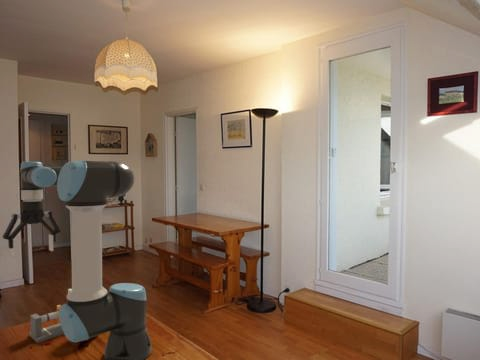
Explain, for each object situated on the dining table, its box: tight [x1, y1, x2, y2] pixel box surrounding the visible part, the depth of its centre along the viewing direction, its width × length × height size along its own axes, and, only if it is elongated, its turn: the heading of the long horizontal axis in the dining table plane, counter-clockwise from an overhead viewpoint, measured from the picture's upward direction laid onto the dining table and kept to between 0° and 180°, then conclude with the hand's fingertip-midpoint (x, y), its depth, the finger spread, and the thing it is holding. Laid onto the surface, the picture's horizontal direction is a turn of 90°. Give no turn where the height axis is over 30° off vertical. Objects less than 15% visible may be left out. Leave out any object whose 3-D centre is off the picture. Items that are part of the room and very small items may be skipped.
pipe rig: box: [29, 310, 65, 343], centre depth 137 cm, size 17×8×8 cm, turn 137°
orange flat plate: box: [56, 304, 62, 322], centre depth 138 cm, size 1×5×5 cm, turn 48°
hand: (33, 253), depth 144 cm, fingers open, 13 cm apart
